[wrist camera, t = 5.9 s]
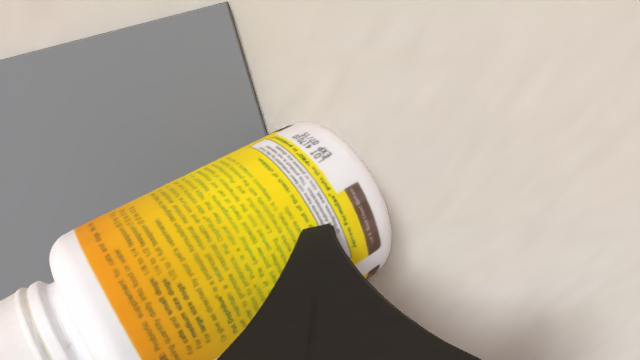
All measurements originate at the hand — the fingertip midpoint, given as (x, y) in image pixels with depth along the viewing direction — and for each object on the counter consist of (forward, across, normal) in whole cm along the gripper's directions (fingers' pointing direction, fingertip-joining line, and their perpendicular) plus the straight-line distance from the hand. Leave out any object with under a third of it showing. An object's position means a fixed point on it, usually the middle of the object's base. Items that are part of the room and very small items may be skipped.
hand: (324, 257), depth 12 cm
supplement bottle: (+4, -1, 0) cm, 4 cm away
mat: (+6, +8, +1) cm, 10 cm away
